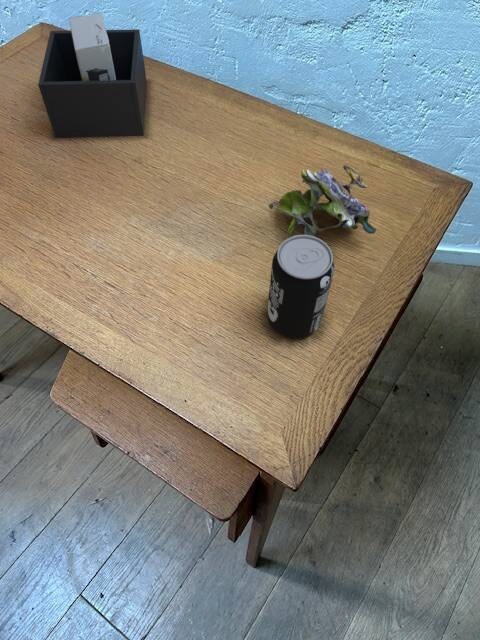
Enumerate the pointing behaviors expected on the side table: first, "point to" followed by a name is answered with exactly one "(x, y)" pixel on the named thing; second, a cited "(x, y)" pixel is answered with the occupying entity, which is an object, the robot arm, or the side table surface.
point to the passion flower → (337, 206)
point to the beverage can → (299, 286)
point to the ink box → (92, 48)
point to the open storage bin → (94, 89)
